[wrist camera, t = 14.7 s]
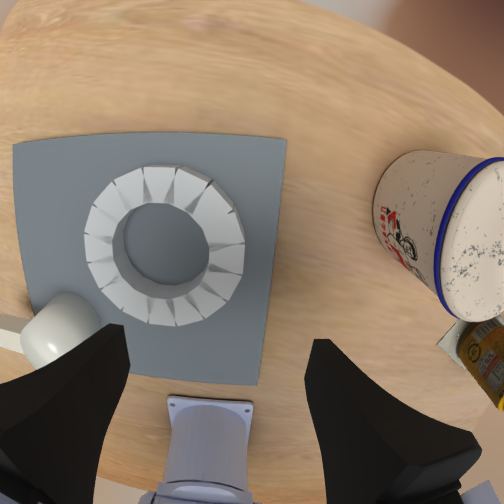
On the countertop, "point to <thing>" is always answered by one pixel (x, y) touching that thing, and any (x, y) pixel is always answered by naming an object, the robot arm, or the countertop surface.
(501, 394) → the condiment
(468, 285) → the teacup with lid
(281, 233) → the countertop surface
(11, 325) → the cream post on cylinder
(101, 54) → the countertop surface
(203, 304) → the stand
